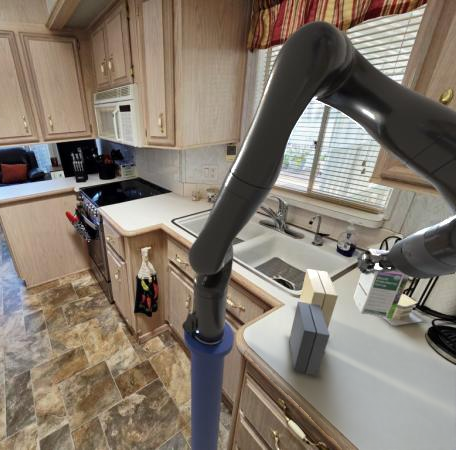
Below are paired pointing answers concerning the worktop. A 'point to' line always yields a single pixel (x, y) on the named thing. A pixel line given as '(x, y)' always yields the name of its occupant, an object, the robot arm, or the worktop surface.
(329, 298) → the cream cookbooks
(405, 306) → the stacked layers on plate
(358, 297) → the syrup box
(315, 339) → the grey books
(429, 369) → the worktop surface
